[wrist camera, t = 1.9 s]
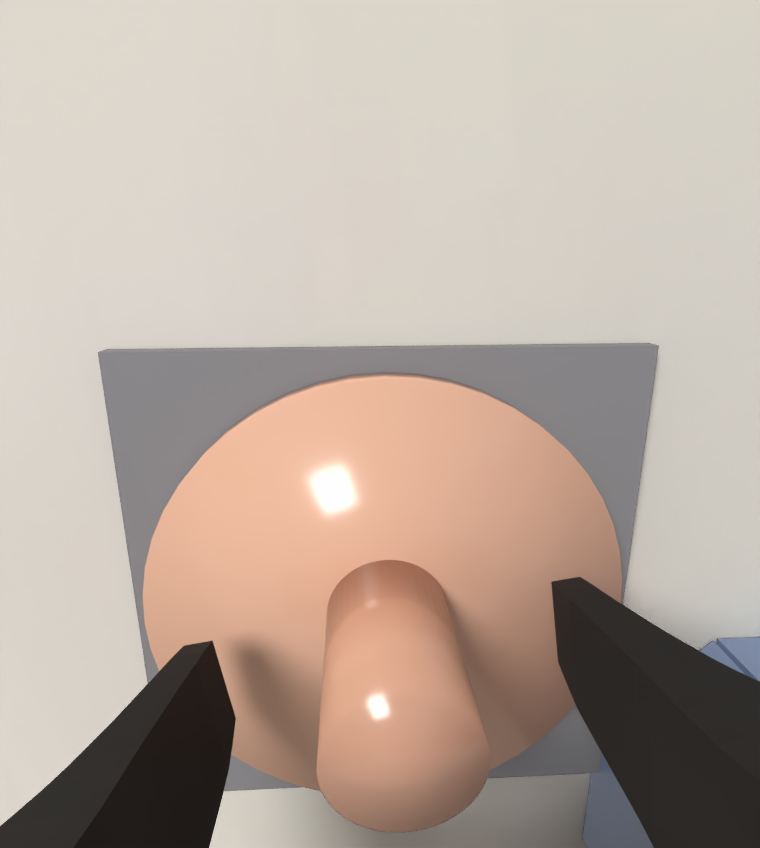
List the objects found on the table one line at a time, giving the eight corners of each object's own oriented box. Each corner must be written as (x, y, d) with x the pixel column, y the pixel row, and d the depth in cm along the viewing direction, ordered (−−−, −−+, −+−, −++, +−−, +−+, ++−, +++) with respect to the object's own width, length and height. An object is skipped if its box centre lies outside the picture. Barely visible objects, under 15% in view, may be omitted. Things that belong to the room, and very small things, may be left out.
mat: (649, 343, 12) (658, 345, 12) (592, 760, 16) (599, 772, 15) (106, 349, 12) (97, 352, 11) (169, 780, 15) (164, 794, 15)
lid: (632, 367, 12) (806, 432, 7) (583, 757, 15) (685, 972, 11) (124, 377, 12) (-26, 453, 7) (181, 779, 15) (105, 1015, 10)
